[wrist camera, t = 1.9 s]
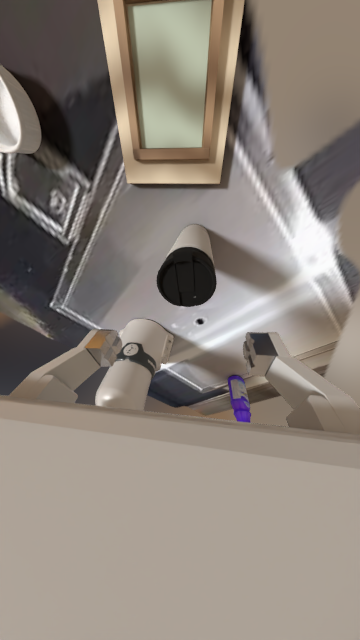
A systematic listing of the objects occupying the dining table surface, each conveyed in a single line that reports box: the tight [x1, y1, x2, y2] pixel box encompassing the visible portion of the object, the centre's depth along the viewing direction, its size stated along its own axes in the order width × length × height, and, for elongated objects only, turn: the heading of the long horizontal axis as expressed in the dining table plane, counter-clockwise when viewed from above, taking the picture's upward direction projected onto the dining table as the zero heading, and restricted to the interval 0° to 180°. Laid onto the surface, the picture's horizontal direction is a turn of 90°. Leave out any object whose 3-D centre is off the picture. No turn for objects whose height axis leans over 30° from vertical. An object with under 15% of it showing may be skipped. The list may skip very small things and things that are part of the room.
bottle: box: [228, 375, 251, 423], centre depth 54 cm, size 7×6×17 cm
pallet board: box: [97, 0, 245, 184], centre depth 18 cm, size 17×15×2 cm
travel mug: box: [157, 224, 216, 307], centre depth 22 cm, size 6×7×20 cm
